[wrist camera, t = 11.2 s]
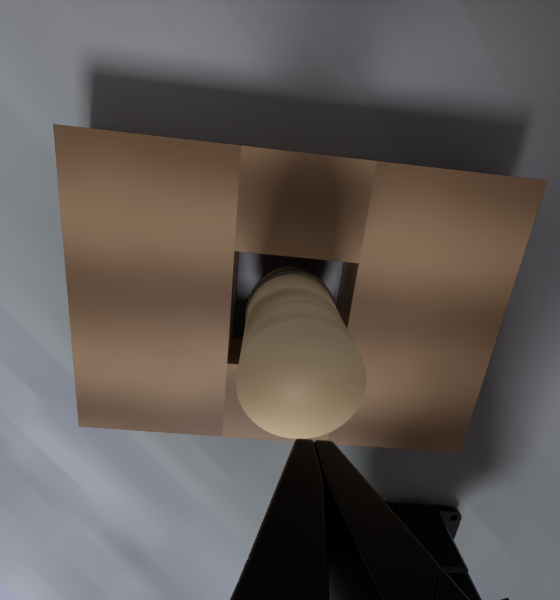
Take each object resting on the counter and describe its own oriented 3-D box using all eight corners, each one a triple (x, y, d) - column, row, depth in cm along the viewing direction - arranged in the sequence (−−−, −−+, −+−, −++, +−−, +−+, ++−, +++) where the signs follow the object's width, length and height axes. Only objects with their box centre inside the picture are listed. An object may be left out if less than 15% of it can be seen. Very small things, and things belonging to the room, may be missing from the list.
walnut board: (436, 417, 22) (460, 452, 20) (104, 393, 21) (79, 426, 18) (503, 179, 18) (547, 180, 15) (89, 133, 17) (53, 124, 14)
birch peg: (320, 333, 20) (356, 445, 12) (246, 327, 20) (229, 436, 12) (331, 260, 19) (380, 328, 11) (252, 253, 19) (237, 316, 10)
